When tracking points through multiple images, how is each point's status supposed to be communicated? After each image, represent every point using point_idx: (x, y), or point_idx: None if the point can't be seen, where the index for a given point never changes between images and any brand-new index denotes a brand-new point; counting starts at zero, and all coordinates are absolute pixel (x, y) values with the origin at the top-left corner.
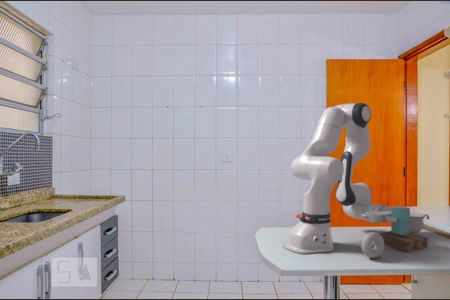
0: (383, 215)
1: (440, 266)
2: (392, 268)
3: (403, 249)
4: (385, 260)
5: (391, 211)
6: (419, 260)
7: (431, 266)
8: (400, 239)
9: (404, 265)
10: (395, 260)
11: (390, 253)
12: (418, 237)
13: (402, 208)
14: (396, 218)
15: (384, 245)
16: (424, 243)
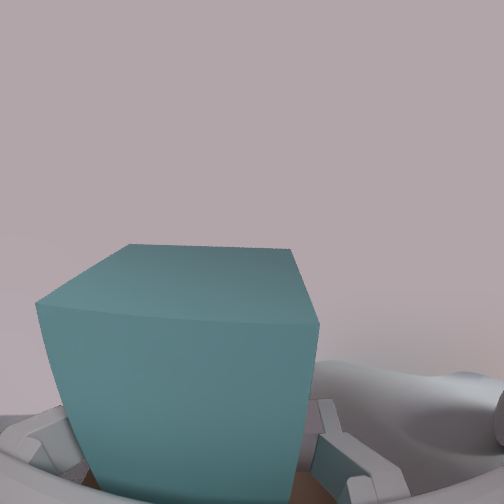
0: (450, 488)
1: (333, 364)
2: (488, 381)
3: None
4: (484, 424)
5: (303, 413)
6: (356, 404)
7: (362, 370)
8: (311, 484)
9: (443, 389)
10: (448, 420)
11: (419, 481)
12: None
13: (249, 253)
14: (325, 399)
15: (499, 398)
16: None
